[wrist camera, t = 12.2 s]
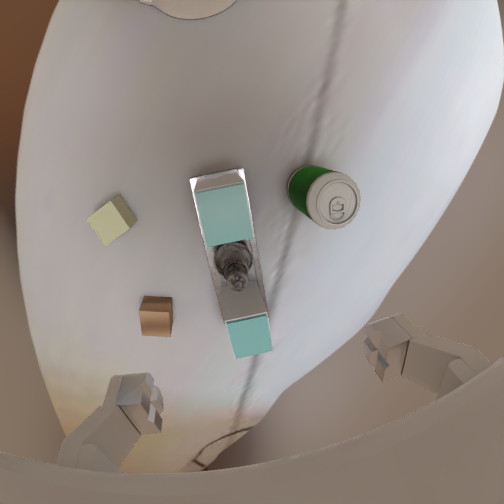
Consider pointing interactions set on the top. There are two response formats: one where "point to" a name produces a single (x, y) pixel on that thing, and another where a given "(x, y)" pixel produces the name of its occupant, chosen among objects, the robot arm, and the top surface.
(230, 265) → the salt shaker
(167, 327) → the block walnut
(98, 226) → the block olive
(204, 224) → the block
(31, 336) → the top surface
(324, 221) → the soda can
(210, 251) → the rail
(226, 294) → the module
